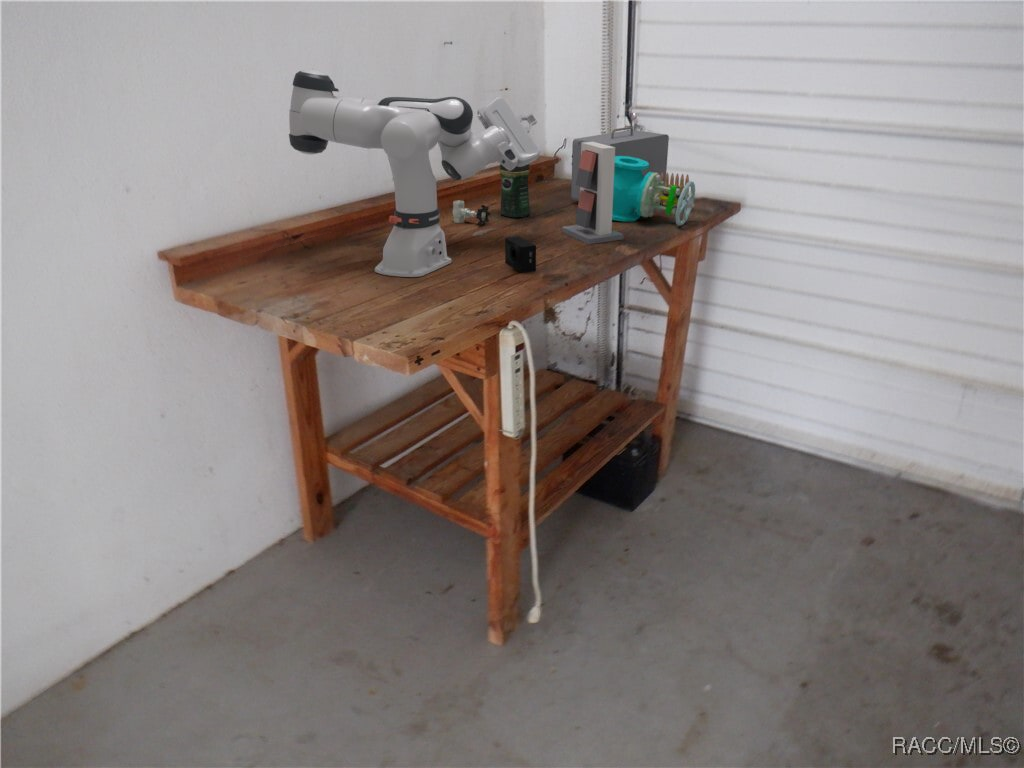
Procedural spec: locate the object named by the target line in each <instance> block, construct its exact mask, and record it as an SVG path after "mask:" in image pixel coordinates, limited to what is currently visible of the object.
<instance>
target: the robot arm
mask: <svg viewBox="0 0 1024 768" xmlns="http://www.w3.org/2000/svg"><path fill="white" fill-rule="evenodd" d="M292 81H293V82H292V86H293V87H292V93H291V98H290V107H289V108H290V109H289V111H288V112H289V115H288V116H289V119H288V120H289V121H288V122H289V134H288V138H289V145H290V146H291V147H292V148H293V149H294V150H296V151H298V152H299V153H301V154H305V155H316V154H317V155H318V154H321V153H323V152H324V151H325V150H326V149H327V146H328V144H329V142H331V143H337V144H342V145H347V146H351V147H352V146H353V147H358V148H363V149H379V150H383V152H385V154H386V156H387V158H388V159H387V160H388V163H389V166H390V170H391V173H392V179H393V185H394V187H393V188H394V196H395V197H394V199H395V209H394V214H393V215H389V217H388V222H389V224H393V227H392V230H391V232H390V233H389V235H388V238H387V240H386V241H385V244H384V245H383V248H382V260H381V261H380V262H379V263H378V264H377V265H376V266H375V268H374V272H375V273H378V274H380V275H384V276H391V277H401V278H402V277H403V278H418V277H422V276H426V275H428V274H430V273H432V272H434V271H436V270H438V269H440V268H443V267H445V266H448V265H449V264H452V262H453V261H452V258H451V257H450V256H448V253H447V244H446V234H445V232H444V230H443V228H442V227H441V225H440V223H439V222H440V220H441V219H440V215H441V214H440V208H439V207H438V198H437V196H438V195H437V193H438V192H437V180H436V177H435V175H434V173H433V170H432V165H431V160H430V156H429V152H430V151H431V150H432V149H434V148H435V146H437V145H438V147H439V149H440V152H441V160H440V161H441V166H442V168H443V170H444V171H445V173H446V174H447V175H448V176H449V177H450V178H451V179H453V180H455V181H463V180H465V179H468V178H470V177H472V176H474V175H475V174H477V173H479V172H481V171H482V170H483V169H484V168H485V167H486V166H487V165H489V164H493V163H495V162H497V163H498V164H501V165H502V166H504V167H505V168H506V169H507V170H509V171H511V170H513V169H514V168H515V167H516V166H517V167H522V166H525V165H527V164H529V165H530V164H531V163H533V162H535V161H536V160H537V159H539V158H540V155H541V150H540V149H539V147H538V146H537V144H536V143H535V141H534V140H533V139H532V137H531V136H530V134H529V133H530V131H531V129H532V127H533V126H534V125H536V124H537V123H538V121H537V120H536V118H535V116H534V115H533V114H532V113H528V114H527V115H524V114H522V115H519V116H517V115H516V114H515V112H514V111H513V109H512V108H511V107H510V105H509V103H508V102H507V100H506V99H505V98H504V97H503V96H498V97H496V98H495V99H493V100H492V101H490V103H489V104H488V105H483V106H481V107H480V108H479V109H477V119H478V121H480V123H481V124H482V126H483V127H484V129H483V130H482V131H480V132H479V133H478V134H473V132H472V123H473V118H474V113H473V109H472V107H471V105H470V104H469V102H467V101H466V100H464V98H461V97H458V96H447V97H446V96H445V97H440V98H424V97H423V98H422V97H421V98H420V97H405V96H403V97H402V96H387V97H384V98H382V99H374V98H365V97H360V96H359V97H358V96H344V95H343V96H339V95H338V96H337V95H336V96H335V95H334V92H337V93H339V92H340V90H339V88H337V87H336V86H335V84H334V81H333V80H332V79H331V77H330V76H329V75H328V74H325V73H323V72H322V71H320V70H317V69H314V68H313V69H311V68H310V69H309V68H307V69H304V70H299V71H297V72H296V73H295V74H294V78H293V80H292ZM522 121H526V122H527V123H528V124H529V126H525V127H524V125H523V123H522Z"/></svg>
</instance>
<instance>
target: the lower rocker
mask: <svg viewBox="0 0 1024 768" xmlns="http://www.w3.org/2000/svg"><path fill="white" fill-rule="evenodd" d="M594 196H595V194H592V193H589V192H587V191H583V190H581V192H580V197H579V201H578V204H577V209H576V215H575V221H574V225H579V226H581V227H584V228H589V223H590V218H591V212H592V207H593V201H594Z"/></svg>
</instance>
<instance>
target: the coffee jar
mask: <svg viewBox="0 0 1024 768" xmlns="http://www.w3.org/2000/svg"><path fill="white" fill-rule="evenodd" d="M499 164H500V163H499ZM530 172H531V171H530V163H529V164H527V165H525V166H522V167H517V166H516V167H515V168H514V169H513V170H511V171H509V170H507V169H506V168H505V167H504V166H502V165H501V164H500V166H499V173H500V177H501V178H500V179H501V181H500V182H501V191H500V192H501V193H500V194H501V195H500V214H501V215H502V216H505V217H509V218H514V219H515V218H525V217H528V216H530V207H531V206H530V198H529V197H530V194H529V175H530Z"/></svg>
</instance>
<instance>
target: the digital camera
mask: <svg viewBox="0 0 1024 768" xmlns="http://www.w3.org/2000/svg"><path fill="white" fill-rule="evenodd" d="M504 241H505V242H504V248H505V250H504V253H505V254H504V256H505V257H504V260H505V263H506V264H507V265H509V266H510V267H511V268H513V269H515V270H517V271H519V272H520V273H527V272H534V271H537V245H536V244H534V243H533V242H530V241H529V240H527V239H525V238H523V237H521V236H519V235H517V236H509V237H508V236H507V237H505V238H504Z"/></svg>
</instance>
